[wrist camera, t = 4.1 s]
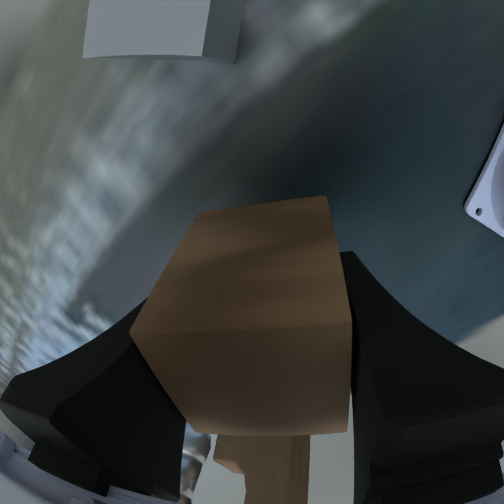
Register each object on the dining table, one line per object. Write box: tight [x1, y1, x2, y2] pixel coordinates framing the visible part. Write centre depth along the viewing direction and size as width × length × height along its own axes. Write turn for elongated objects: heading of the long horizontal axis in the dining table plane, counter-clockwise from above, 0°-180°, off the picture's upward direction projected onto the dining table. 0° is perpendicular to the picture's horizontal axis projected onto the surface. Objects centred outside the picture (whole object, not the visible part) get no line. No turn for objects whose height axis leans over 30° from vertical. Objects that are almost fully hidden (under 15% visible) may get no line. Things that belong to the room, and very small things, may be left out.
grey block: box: [82, 0, 245, 63], centre depth 10 cm, size 4×4×6 cm
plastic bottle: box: [177, 422, 211, 504], centre depth 23 cm, size 6×7×20 cm
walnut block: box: [129, 195, 352, 436], centre depth 9 cm, size 4×4×6 cm
